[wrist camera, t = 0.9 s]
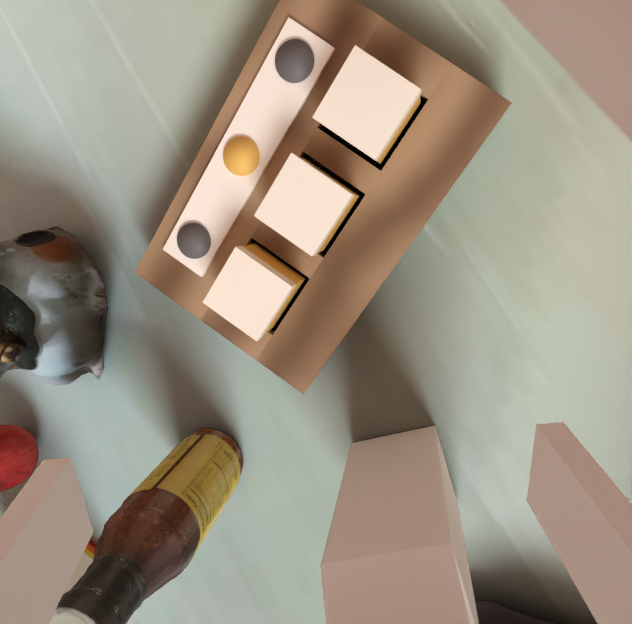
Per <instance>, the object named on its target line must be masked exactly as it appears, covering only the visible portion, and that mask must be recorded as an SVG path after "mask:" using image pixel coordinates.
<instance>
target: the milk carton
mask: <svg viewBox="0 0 632 624" xmlns="http://www.w3.org/2000/svg"><path fill="white" fill-rule="evenodd" d="M321 576H322V586H323V595H324V605H325V615H326V624H479V621H478V616H477V610H476V604H475V598H474V593H473V587H472V581H471V576H470V570H469V564H468V558H467V553H466V547H465V541H464V535H463V530H462V524H461V518H460V512H459V507H458V503H457V499H456V496H455V492H454V489H453V485H452V482H451V478H450V475H449V471H448V468H447V465H446V461H445V458H444V454H443V451H442V447H441V444H440V440H439V437H438V433H437V430H436V427H435V426H430V427H425V428H420V429H416V430H411V431H406V432H402V433H397V434H392V435H388V436H383V437H378V438H373V439H369V440H364V441H359V442H355V443H352V444H351V446H350V450H349V454H348V458H347V462H346V466H345V470H344V474H343V478H342V482H341V486H340V490H339V494H338V498H337V502H336V506H335V510H334V514H333V518H332V522H331V526H330V530H329V534H328V538H327V542H326V546H325V550H324V554H323V558H322V562H321Z"/></svg>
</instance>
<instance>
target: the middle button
mask: <svg viewBox="0 0 632 624" xmlns="http://www.w3.org/2000/svg"><path fill="white" fill-rule="evenodd" d="M358 198H359V195H358V194H356V193H355V192H353V191H352V190H350V189H349V188H347V187H346V186H344V185H343V184H341V183H340V182H339V181H337V180H336V179H334V178H333V177H331V176H330V175H328V174H327V173H325V172H324V171H323V170H321V169H320V168H318V167H317V166H315V165H314V164H312V163H311V162H309V161H308V160H307V159H304V158H301V157H299V156H297V155H296V154H294V153H291V154H290V156H289V157H288V159H287V161H286V162H285V164H284V166H283V167H282V169H281V171H280V172H279V174H278V176H277V178H276V179H275V181H274V183H273V184H272V186H271V188H270V189H269V191H268V193H267V194H266V196H265V198H264V199H263V201H262V203H261V205H260V206H259V208H258V210H257V211H256V213H255V215H254V216H255V217H256V218H258V219H259V220H260V221H262V222H263V223H265V224H266V225H268V226H269V227H270V228H272V229H273V230H275V231H276V232H278V233H279V234H280V235H282V236H283V237H285V238H286V239H288V240H289V241H290V242H292V243H293V244H295V245H296V246H298V247H299V248H300V249H302V250H303V251H305V252H306V253H308V254H309V255H310V256H315V255H316V254H317V253H319V252H321V251H323V250H325V248H326V247H327V245H328V244H329V242H330V241H331V239H332V237H333V236H334V234H335V233H336V231H337V230H338V228H339V227H340V225H341V224H342V222H343V221H344V219H345V218H346V216H347V215H348V213H349V212H350V210H351V209H352V207H353V206H354V204H355V202H356V201H357V199H358Z"/></svg>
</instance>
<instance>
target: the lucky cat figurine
mask: <svg viewBox="0 0 632 624" xmlns="http://www.w3.org/2000/svg"><path fill="white" fill-rule="evenodd" d="M107 310H108V307H107V300H106V294H105V286H104V283H103V281H102V278H101V275H100V273H99V272H98V270H97V269H96V267H95V266H94V264H93V262H92V261H91V259H90V257H89V256H88V255H87V253H86V252H85V250H84V249H83V248H82V246H81V245H80V244H79V242H78V241H77V240H76V239H75V237H74V236H73V235H72V234H70V233H68V232H66V231H65V230H63V229H62V228H59V227H53V228H50V229H46V230H37V231H33V232H29V233H25V234H22V235H20V236H18V237H16V238H14V239H12V240H9V241H4V242H0V377H1V376H2V375H3V374H4V373H5V372H6V371H7V370H11V369H23V370H25V371H26V372H28V373H30V374H31V375H32V376H34V377H35V378H37V379H40V380H42V381H44V382H46V383H50V384H53V385H64V384H69V383H71V382H73V381H74V380H76V379H77V378H78V377H80V376H81V375H83V374H86V373H88V372H90V373H93V374H94V375H95V376H96V378H97V379H100V376H101V374H102V372H103V370H104V358H103V335H104V329H105V323H106V317H107Z"/></svg>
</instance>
